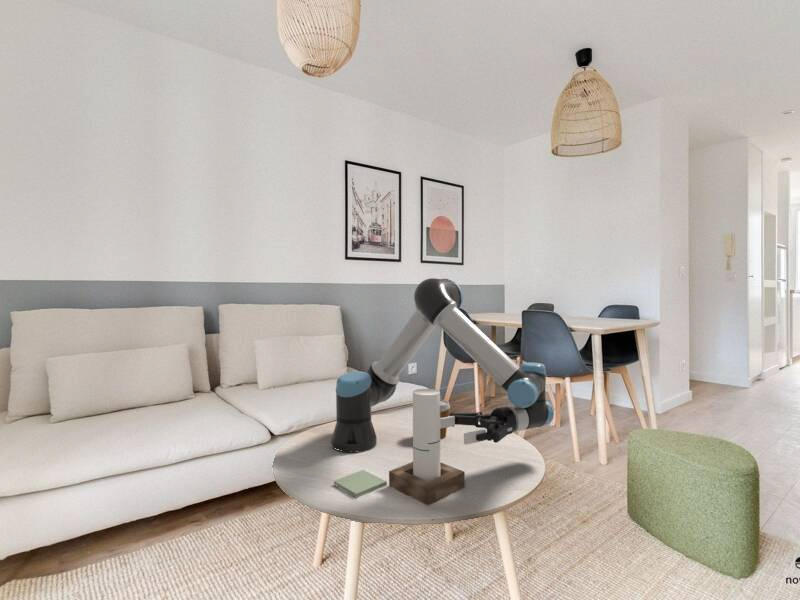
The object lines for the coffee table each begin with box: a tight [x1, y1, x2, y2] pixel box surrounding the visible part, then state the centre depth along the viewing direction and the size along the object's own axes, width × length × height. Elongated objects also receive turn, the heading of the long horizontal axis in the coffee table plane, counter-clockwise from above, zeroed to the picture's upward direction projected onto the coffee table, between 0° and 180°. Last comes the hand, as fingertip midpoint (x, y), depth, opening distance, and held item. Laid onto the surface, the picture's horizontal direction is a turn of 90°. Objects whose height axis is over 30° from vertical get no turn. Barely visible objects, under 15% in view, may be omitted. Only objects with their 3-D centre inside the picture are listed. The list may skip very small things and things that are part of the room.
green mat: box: [333, 469, 387, 498], centre depth 112 cm, size 10×10×1 cm
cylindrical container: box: [412, 388, 441, 482], centre depth 110 cm, size 7×7×25 cm
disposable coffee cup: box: [440, 399, 451, 440], centre depth 149 cm, size 10×10×12 cm
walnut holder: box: [388, 461, 466, 506], centre depth 110 cm, size 14×14×4 cm
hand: (449, 431), depth 113 cm, fingers open, 13 cm apart
